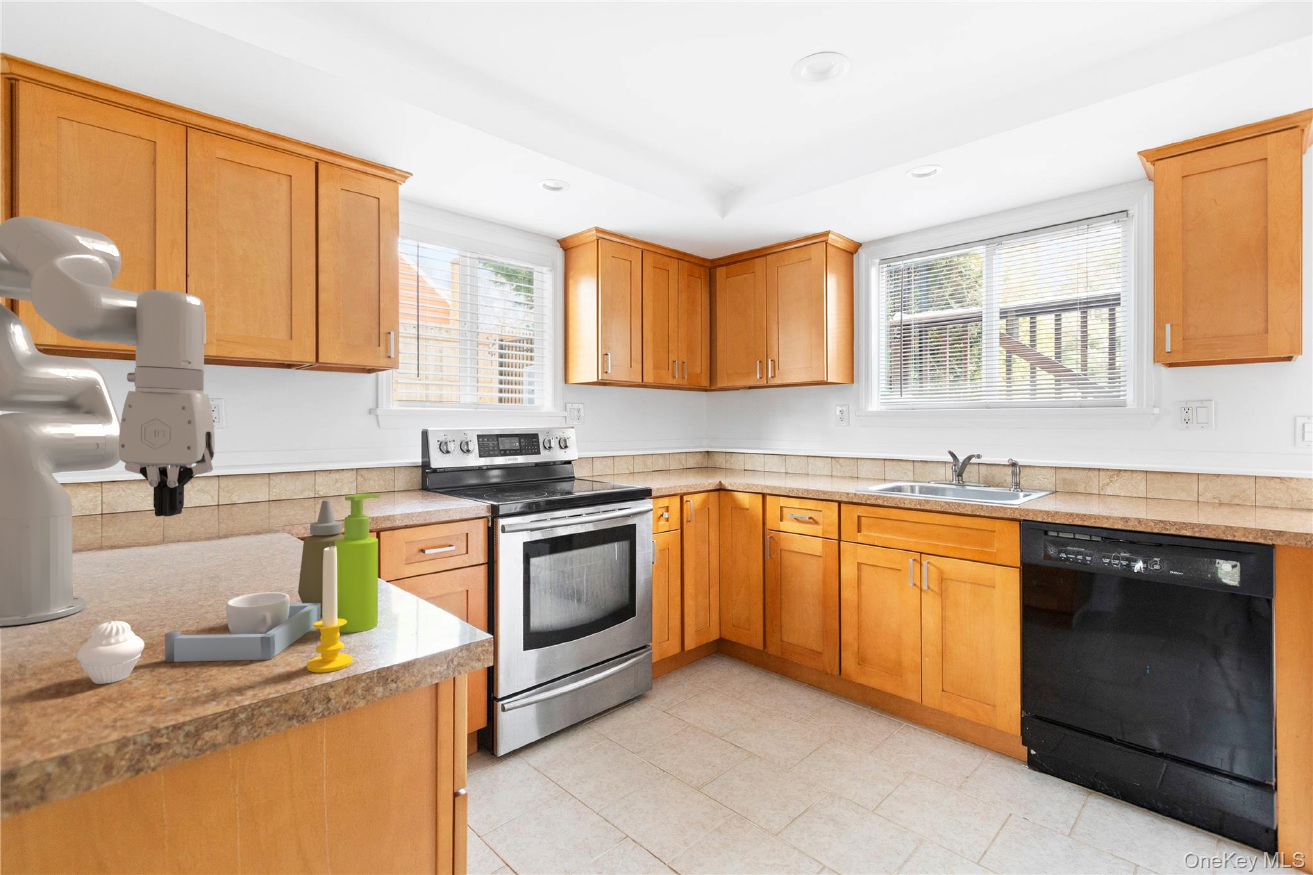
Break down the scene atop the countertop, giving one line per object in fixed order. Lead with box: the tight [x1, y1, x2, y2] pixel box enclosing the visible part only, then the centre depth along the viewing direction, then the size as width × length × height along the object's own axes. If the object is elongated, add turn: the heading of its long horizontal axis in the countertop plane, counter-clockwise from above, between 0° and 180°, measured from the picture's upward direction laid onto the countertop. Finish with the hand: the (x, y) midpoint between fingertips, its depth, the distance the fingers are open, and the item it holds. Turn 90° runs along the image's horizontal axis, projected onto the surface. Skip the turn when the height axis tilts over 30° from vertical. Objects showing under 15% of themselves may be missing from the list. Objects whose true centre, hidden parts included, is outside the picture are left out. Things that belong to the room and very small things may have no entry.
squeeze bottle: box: [297, 499, 344, 616], centre depth 104 cm, size 8×8×18 cm
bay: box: [164, 602, 322, 663], centre depth 90 cm, size 13×16×4 cm
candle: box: [306, 544, 354, 674], centre depth 82 cm, size 5×5×16 cm
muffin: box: [76, 620, 145, 685], centre depth 76 cm, size 6×6×7 cm
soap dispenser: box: [335, 492, 381, 634], centre depth 97 cm, size 6×7×20 cm
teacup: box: [225, 591, 291, 634], centre depth 91 cm, size 10×8×5 cm
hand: (168, 514), depth 89 cm, fingers closed
